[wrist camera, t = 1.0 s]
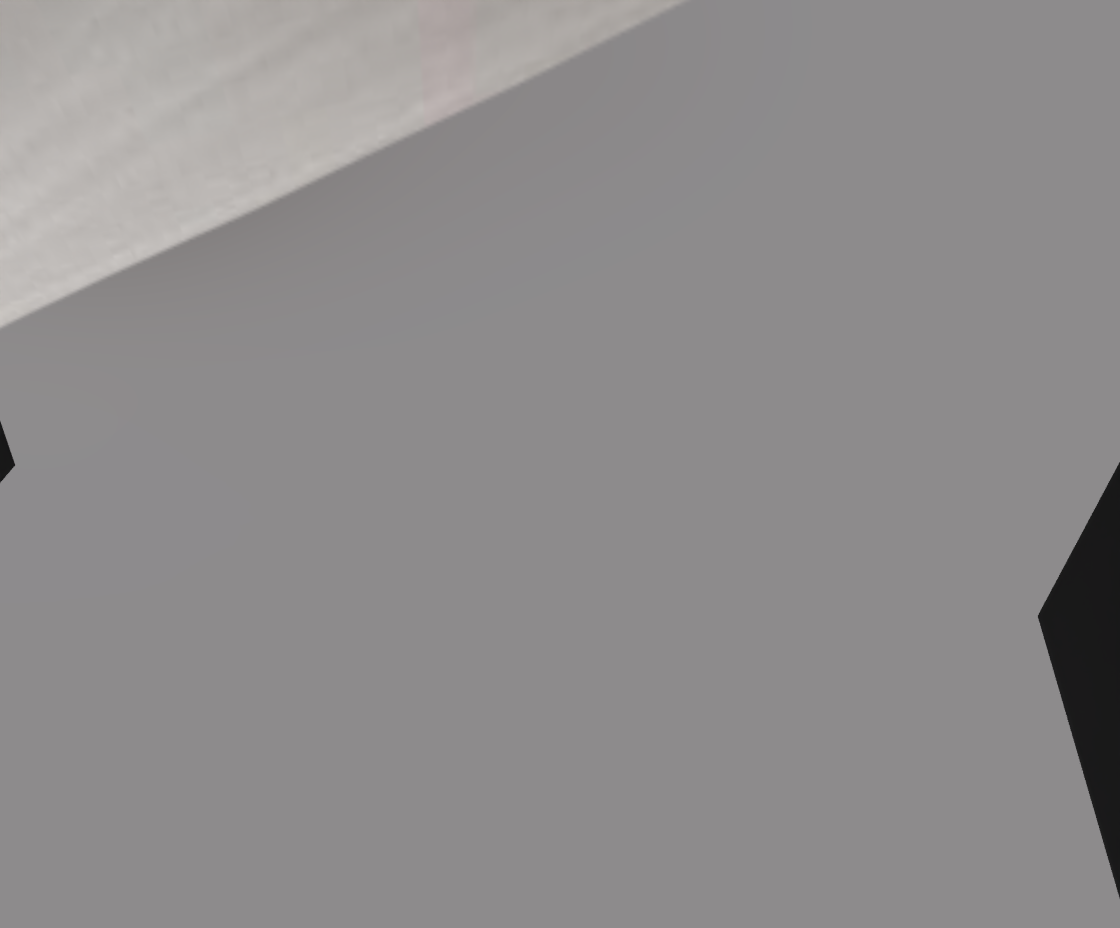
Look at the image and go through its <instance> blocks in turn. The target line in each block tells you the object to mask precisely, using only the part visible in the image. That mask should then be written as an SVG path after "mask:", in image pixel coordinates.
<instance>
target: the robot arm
mask: <svg viewBox="0 0 1120 928" xmlns="http://www.w3.org/2000/svg"><path fill="white" fill-rule="evenodd" d="M14 466H15V463H14V460H13V457H12V455H11V452H10V449H9V446H8V443H7V440H6V437H5V434H4V431H3V428H2V425H1V422H0V482H1V481H2V480H3V479H4V478H5V476H6V475H7V474H8V473H9V472H10V470H11V469H12V468H13V467H14ZM1038 619H1039V622H1040V625H1041V629H1042V632H1043V636H1044V639H1045V643H1046V646H1047V649H1048V653H1049V656H1050V660H1051V663H1052V667H1053V670H1054V674H1055V677H1056V681H1057V684H1058V687H1059V691H1060V694H1061V698H1062V701H1063V704H1064V708H1065V712H1066V715H1067V718H1068V722H1069V725H1070V729H1071V732H1072V736H1073V739H1074V743H1075V746H1076V749H1077V753H1078V756H1079V759H1080V763H1081V767H1082V770H1083V774H1084V777H1085V780H1086V784H1087V787H1088V791H1089V794H1090V798H1091V801H1092V804H1093V808H1094V811H1095V814H1096V818H1097V822H1098V825H1099V828H1100V832H1101V835H1102V839H1103V842H1104V845H1105V849H1106V853H1107V856H1108V860H1109V863H1110V866H1111V870H1112V873H1113V877H1114V880H1115V884H1116V887H1117V890H1118V894H1119V897H1120V463H1119V465H1118V466H1117V468H1116V470H1115V472H1114V474H1113V476H1112V478H1111V480H1110V481H1109V483H1108V485H1107V487H1106V489H1105V491H1104V493H1103V495H1102V497H1101V498H1100V500H1099V502H1098V504H1097V506H1096V508H1095V510H1094V512H1093V513H1092V516H1091V517H1090V519H1089V521H1088V523H1087V525H1086V526H1085V529H1084V530H1083V532H1082V534H1081V536H1080V538H1079V540H1078V542H1077V543H1076V545H1075V547H1074V549H1073V551H1072V553H1071V555H1070V556H1069V558H1068V560H1067V562H1066V564H1065V566H1064V568H1063V570H1062V572H1061V573H1060V575H1059V577H1058V579H1057V581H1056V583H1055V585H1054V587H1053V588H1052V590H1051V592H1050V594H1049V596H1048V598H1047V600H1046V601H1045V603H1044V605H1043V607H1042V609H1041V611H1040V613H1039V615H1038Z"/></svg>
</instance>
